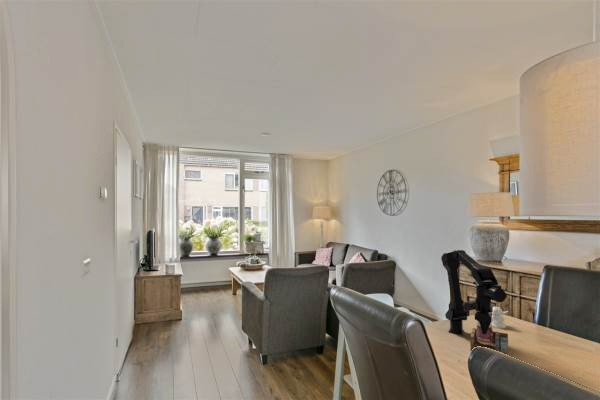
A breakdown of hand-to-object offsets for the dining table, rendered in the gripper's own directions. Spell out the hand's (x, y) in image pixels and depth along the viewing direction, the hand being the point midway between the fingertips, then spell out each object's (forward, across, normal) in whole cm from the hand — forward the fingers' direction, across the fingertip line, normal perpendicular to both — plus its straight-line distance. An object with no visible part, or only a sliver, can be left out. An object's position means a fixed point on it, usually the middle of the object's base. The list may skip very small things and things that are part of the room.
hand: (484, 332), depth 145 cm
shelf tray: (+7, -2, +2) cm, 8 cm away
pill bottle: (+5, 0, 0) cm, 5 cm away
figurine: (+8, -38, +4) cm, 39 cm away
